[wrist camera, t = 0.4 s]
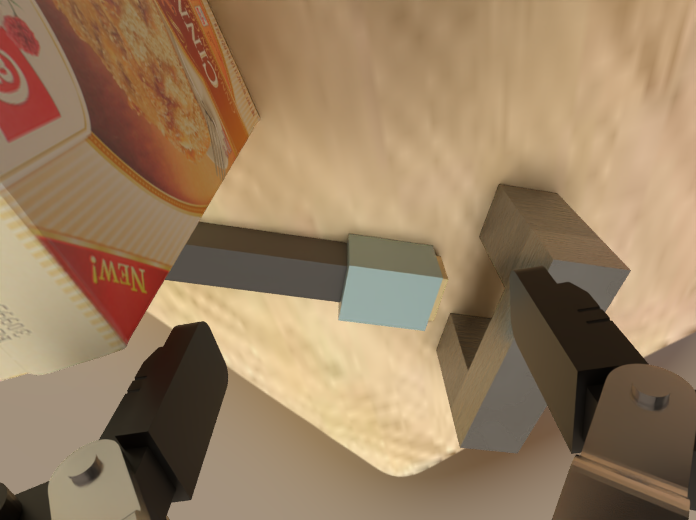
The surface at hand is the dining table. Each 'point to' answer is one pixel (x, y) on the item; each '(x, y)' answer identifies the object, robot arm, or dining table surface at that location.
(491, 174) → the dining table surface
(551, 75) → the dining table surface
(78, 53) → the coffeecake box
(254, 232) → the plug
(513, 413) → the bridge block
